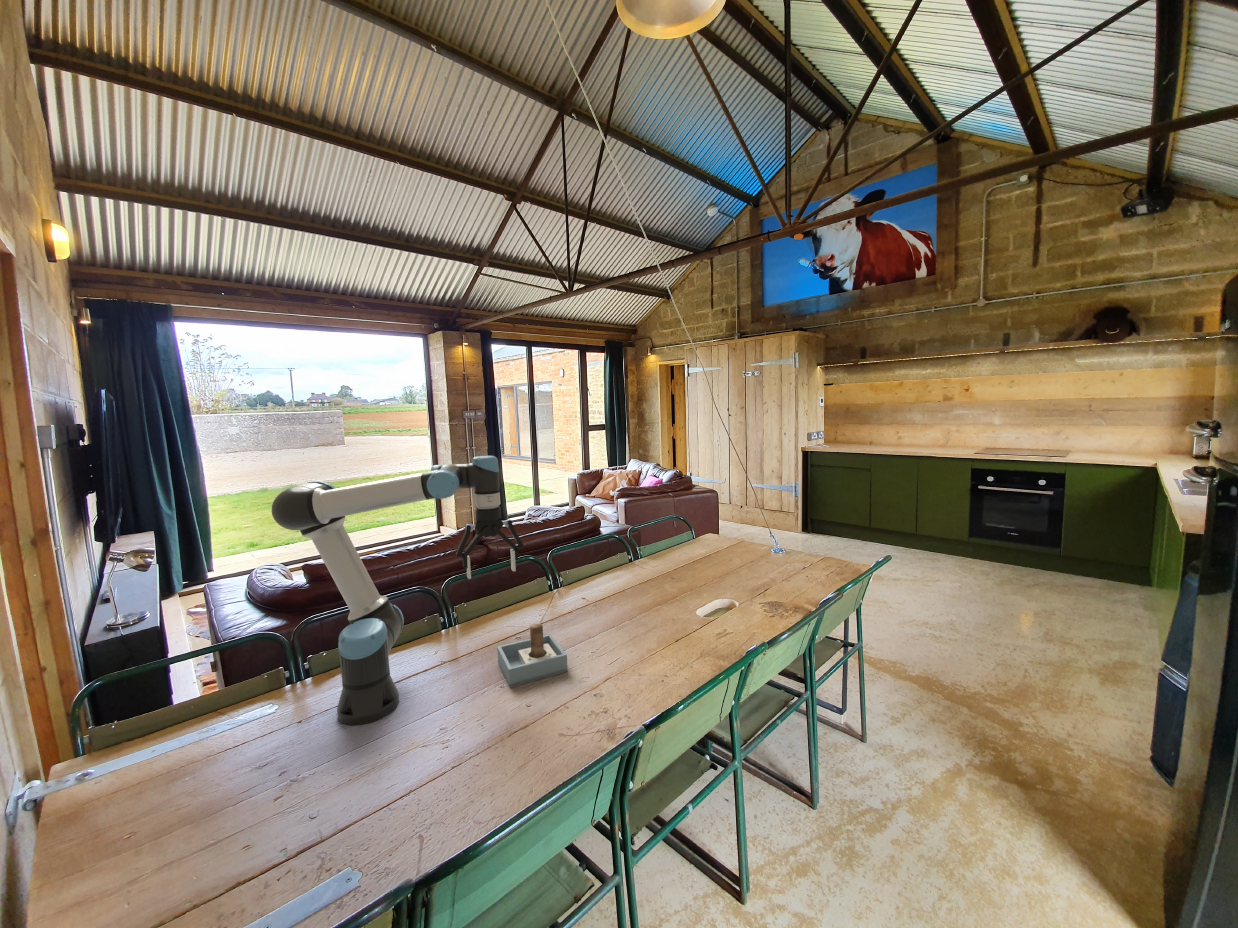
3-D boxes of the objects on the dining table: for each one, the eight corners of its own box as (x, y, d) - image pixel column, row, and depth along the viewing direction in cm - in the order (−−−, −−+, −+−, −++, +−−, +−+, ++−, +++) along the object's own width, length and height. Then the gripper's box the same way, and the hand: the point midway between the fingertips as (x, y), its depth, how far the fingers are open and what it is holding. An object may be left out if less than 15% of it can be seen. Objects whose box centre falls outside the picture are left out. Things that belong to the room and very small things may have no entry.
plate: (526, 673, 146) (526, 664, 146) (518, 659, 155) (518, 650, 155) (558, 665, 151) (557, 656, 150) (548, 651, 160) (547, 643, 159)
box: (509, 687, 141) (508, 669, 141) (498, 662, 156) (497, 646, 155) (567, 671, 149) (566, 654, 148) (551, 649, 163) (550, 633, 163)
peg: (530, 661, 154) (528, 625, 153) (542, 658, 156) (540, 622, 154) (533, 666, 150) (531, 630, 149) (545, 663, 152) (544, 627, 151)
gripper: (446, 513, 138) (451, 584, 140) (531, 504, 149) (534, 570, 151) (443, 508, 145) (448, 577, 147) (524, 500, 156) (527, 563, 158)
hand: (491, 573), depth 149 cm, fingers open, 13 cm apart
